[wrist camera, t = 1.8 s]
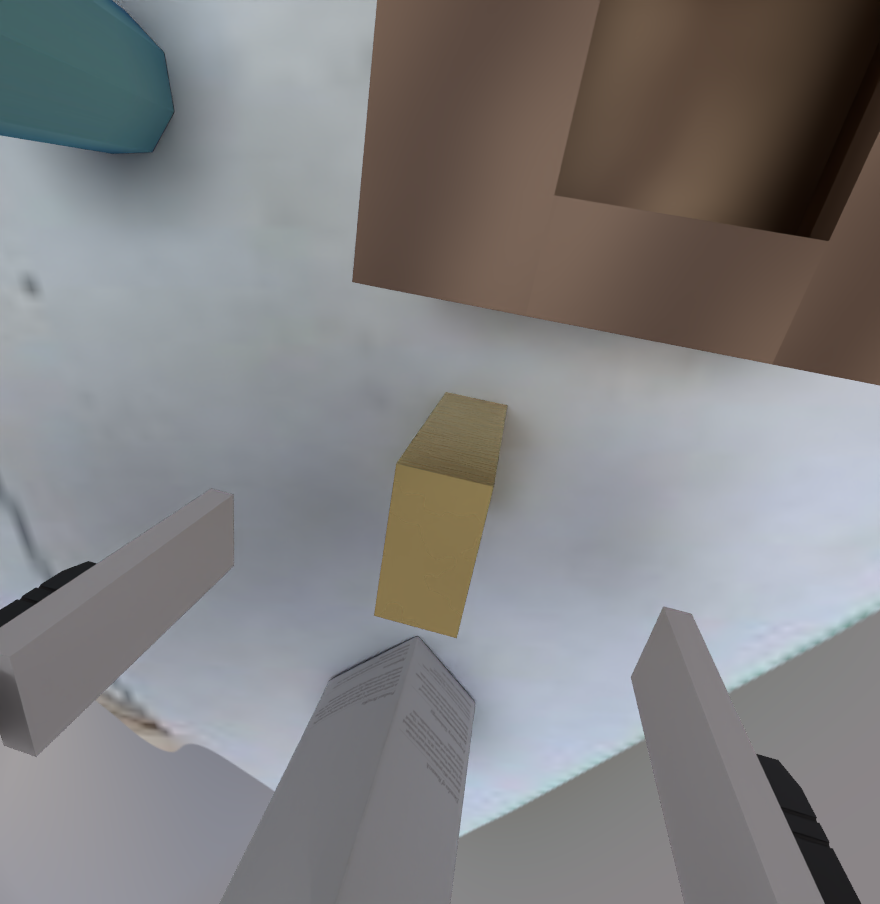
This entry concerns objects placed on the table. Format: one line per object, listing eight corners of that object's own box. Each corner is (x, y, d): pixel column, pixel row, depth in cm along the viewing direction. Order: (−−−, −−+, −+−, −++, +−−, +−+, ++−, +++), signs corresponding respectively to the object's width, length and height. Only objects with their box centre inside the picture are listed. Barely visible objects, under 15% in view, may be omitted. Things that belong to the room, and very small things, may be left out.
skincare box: (384, 738, 32) (266, 1115, 18) (323, 673, 31) (144, 1022, 16) (481, 700, 29) (435, 1117, 15) (419, 627, 28) (301, 1004, 13)
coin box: (432, 276, 20) (352, 281, 11) (502, -180, 15) (458, -916, 6) (762, 340, 19) (982, 405, 10) (974, -141, 13) (1948, -1042, 4)
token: (426, 499, 24) (374, 615, 16) (446, 392, 22) (396, 463, 14) (481, 512, 24) (456, 638, 16) (507, 405, 22) (493, 486, 14)
